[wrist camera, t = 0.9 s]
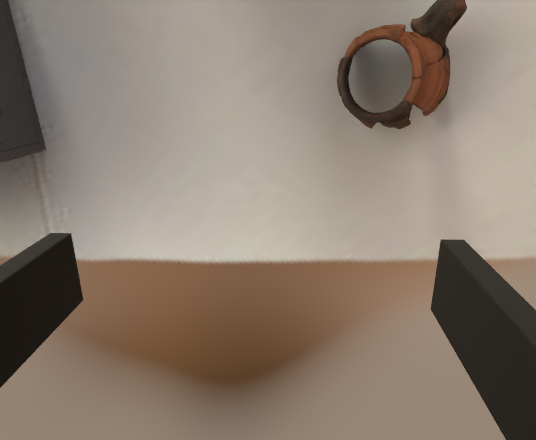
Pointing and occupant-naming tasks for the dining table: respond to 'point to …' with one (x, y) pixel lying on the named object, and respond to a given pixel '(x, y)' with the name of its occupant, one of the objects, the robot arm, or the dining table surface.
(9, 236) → the dining table surface
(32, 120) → the dark grey square box
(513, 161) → the dining table surface
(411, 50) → the pottery mug
